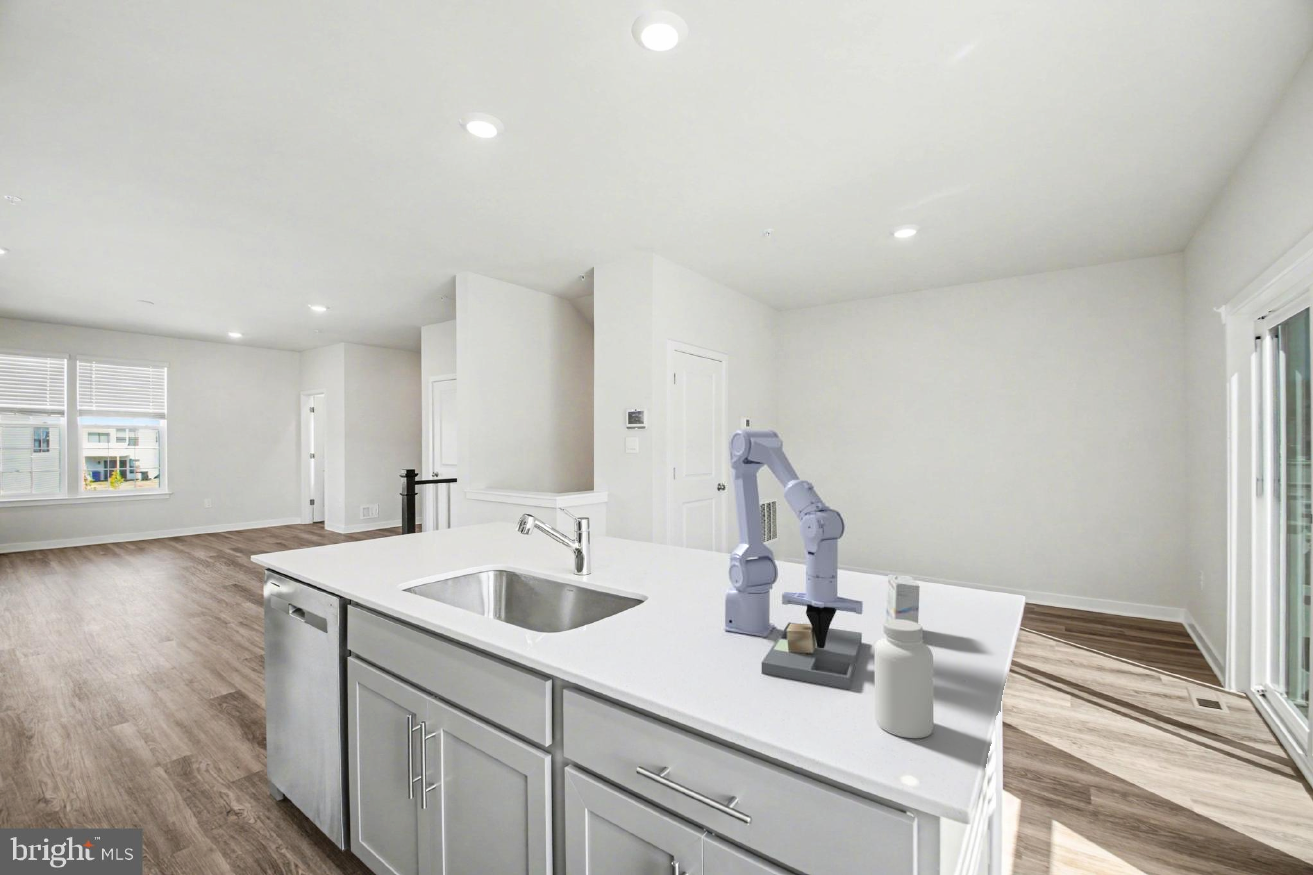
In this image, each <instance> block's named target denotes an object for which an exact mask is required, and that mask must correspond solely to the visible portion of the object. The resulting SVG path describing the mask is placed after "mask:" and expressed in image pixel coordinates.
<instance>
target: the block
mask: <svg viewBox="0 0 1313 875" xmlns="http://www.w3.org/2000/svg"><path fill="white" fill-rule="evenodd" d="M793 623H794V622H790V625H789V627H788V629H787V631H786V632H787V641H788V651H789V652H797V653H813V652H814V649H815V647H816V639H815V634H814V631H813V628H812V625H811V623H797V624H793Z"/></svg>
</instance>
